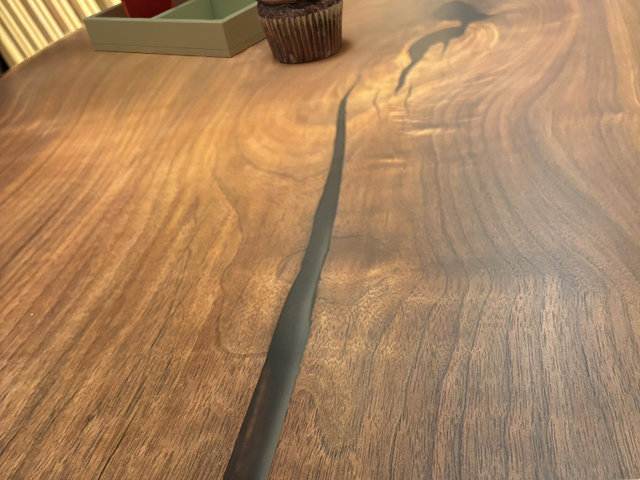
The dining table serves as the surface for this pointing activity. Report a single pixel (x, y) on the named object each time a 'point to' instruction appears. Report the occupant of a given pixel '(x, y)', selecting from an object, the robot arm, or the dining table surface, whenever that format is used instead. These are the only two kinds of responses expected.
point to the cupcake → (301, 28)
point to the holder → (179, 29)
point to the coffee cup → (146, 7)
